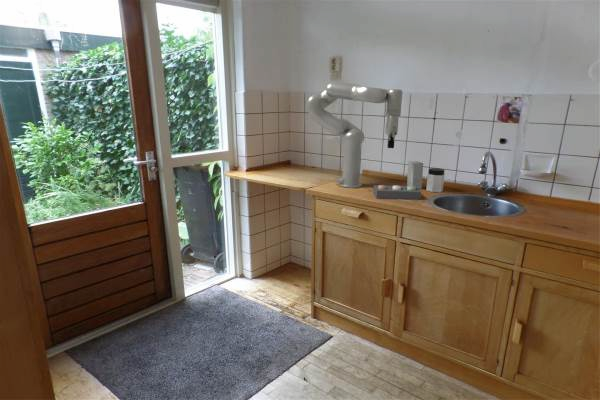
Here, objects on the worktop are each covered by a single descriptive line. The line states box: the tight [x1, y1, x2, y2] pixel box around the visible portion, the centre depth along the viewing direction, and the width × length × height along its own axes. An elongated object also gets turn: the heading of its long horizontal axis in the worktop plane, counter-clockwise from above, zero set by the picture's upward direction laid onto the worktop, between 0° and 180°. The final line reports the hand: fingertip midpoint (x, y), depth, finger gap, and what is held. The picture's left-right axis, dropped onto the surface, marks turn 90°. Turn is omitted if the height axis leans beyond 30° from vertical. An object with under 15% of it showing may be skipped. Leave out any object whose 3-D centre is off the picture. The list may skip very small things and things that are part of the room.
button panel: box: [373, 184, 422, 201], centre depth 203 cm, size 22×12×4 cm, turn 87°
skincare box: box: [406, 160, 424, 190], centre depth 222 cm, size 8×6×15 cm
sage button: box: [406, 185, 416, 190], centre depth 203 cm, size 4×4×4 cm
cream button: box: [392, 184, 402, 190], centre depth 203 cm, size 4×4×4 cm
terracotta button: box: [378, 184, 388, 189], centre depth 203 cm, size 4×4×4 cm
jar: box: [425, 167, 445, 193], centre depth 216 cm, size 9×8×12 cm
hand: (390, 147), depth 212 cm, fingers closed
